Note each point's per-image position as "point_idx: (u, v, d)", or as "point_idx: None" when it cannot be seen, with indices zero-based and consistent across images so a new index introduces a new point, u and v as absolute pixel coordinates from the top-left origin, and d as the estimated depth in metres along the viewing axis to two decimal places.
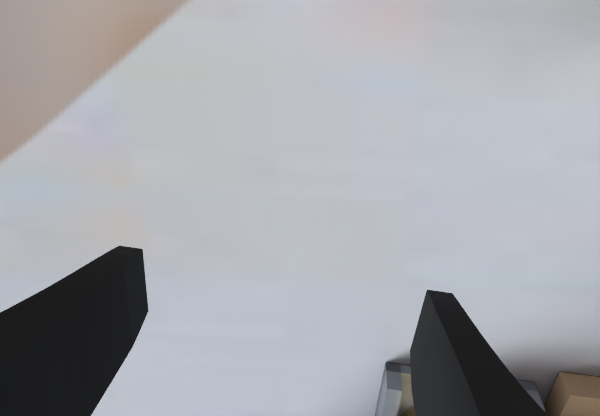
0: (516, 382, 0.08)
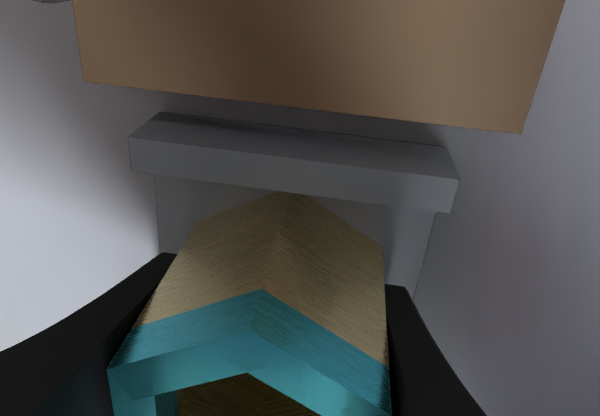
0: (451, 372, 0.08)
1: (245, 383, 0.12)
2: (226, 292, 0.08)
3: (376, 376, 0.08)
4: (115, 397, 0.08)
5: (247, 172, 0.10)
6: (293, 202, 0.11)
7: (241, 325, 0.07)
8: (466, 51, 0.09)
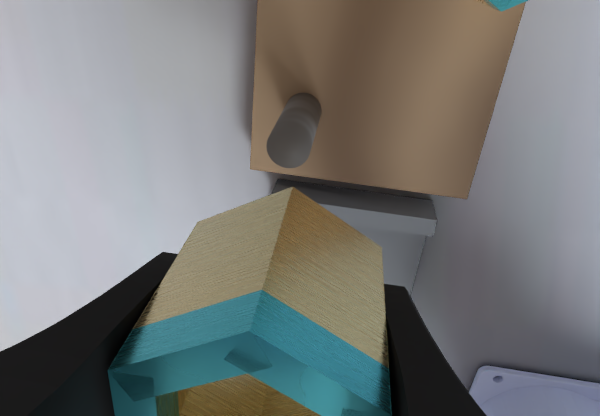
0: (451, 372, 0.08)
1: (245, 384, 0.12)
2: (227, 293, 0.08)
3: (376, 376, 0.08)
4: (116, 398, 0.08)
5: None
6: (293, 203, 0.11)
7: (242, 326, 0.07)
8: (439, 162, 0.19)
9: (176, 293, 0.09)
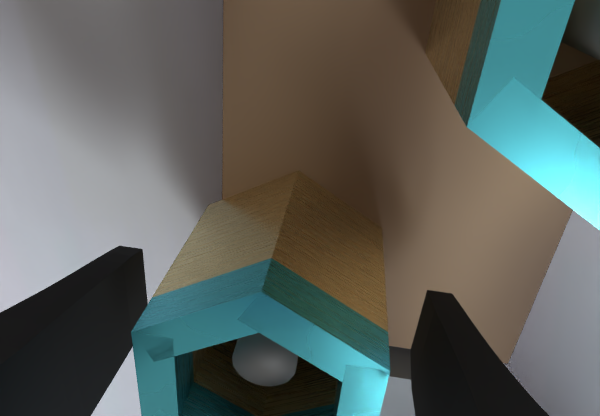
0: (516, 382, 0.08)
1: None
2: (239, 263, 0.09)
3: (376, 338, 0.09)
4: (138, 358, 0.09)
5: None
6: (299, 185, 0.12)
7: (254, 288, 0.08)
8: (473, 321, 0.14)
9: (191, 265, 0.10)
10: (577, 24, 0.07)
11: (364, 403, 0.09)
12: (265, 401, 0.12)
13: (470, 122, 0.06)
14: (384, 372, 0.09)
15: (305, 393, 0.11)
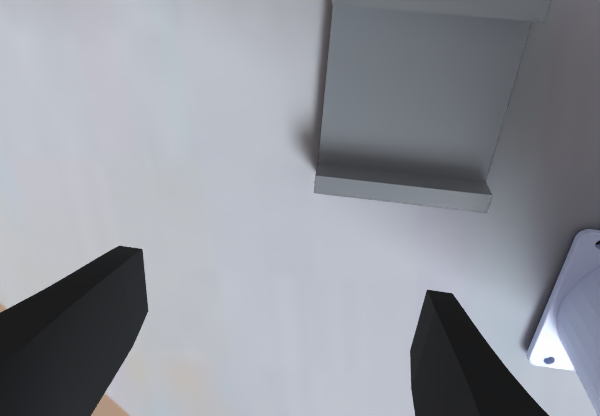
0: (516, 382, 0.08)
1: None
2: None
3: None
4: None
5: None
6: None
7: None
8: None
9: None
10: None
11: None
12: None
13: None
14: None
15: None
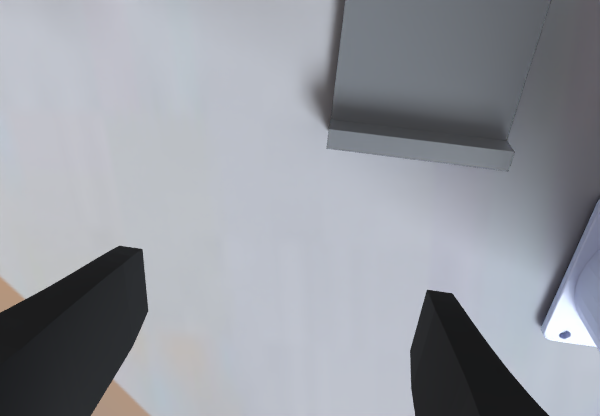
0: (516, 382, 0.08)
1: None
2: None
3: None
4: None
5: None
6: None
7: None
8: None
9: None
10: None
11: None
12: None
13: None
14: None
15: None
